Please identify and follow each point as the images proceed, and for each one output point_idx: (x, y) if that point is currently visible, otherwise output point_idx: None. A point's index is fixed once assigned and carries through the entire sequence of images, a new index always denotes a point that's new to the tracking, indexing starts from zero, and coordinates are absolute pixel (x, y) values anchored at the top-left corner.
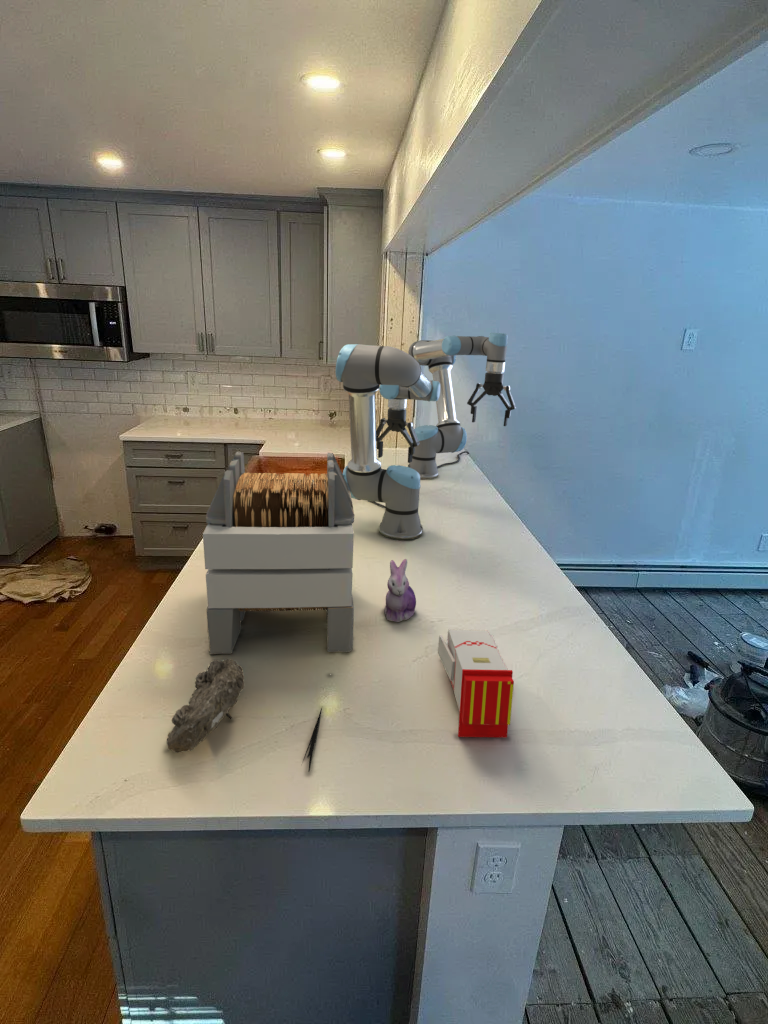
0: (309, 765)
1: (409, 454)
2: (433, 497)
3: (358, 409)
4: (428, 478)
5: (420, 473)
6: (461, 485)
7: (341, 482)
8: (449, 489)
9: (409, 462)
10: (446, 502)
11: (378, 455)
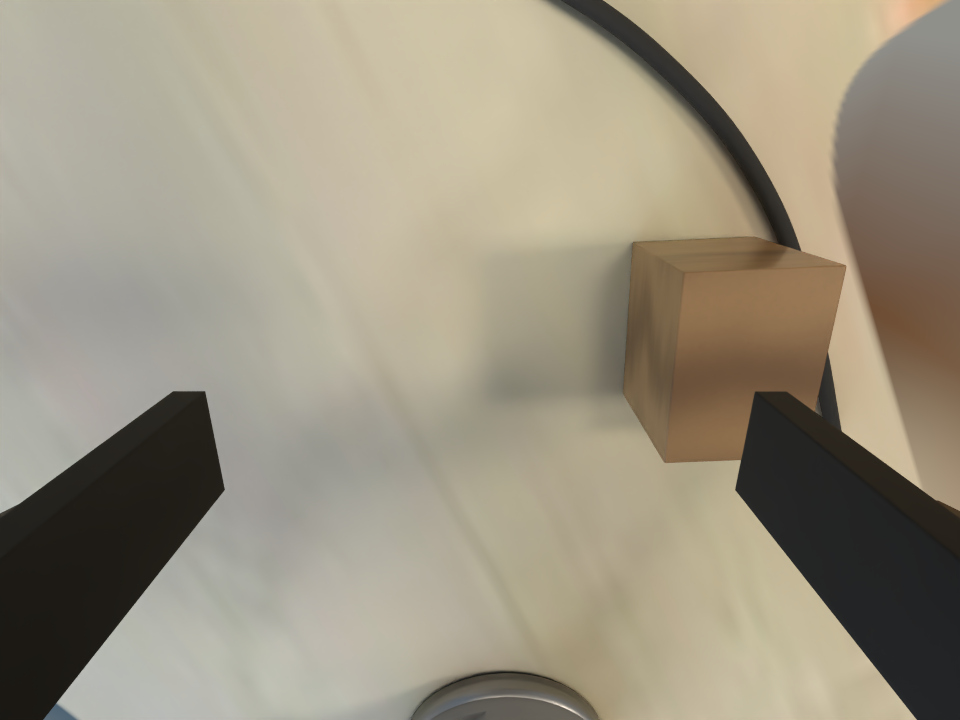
0: None
1: (66, 476)
2: (211, 415)
3: None
4: (431, 700)
5: (481, 716)
6: (215, 697)
7: None
8: (227, 606)
9: (171, 400)
10: (72, 365)
11: (803, 408)
